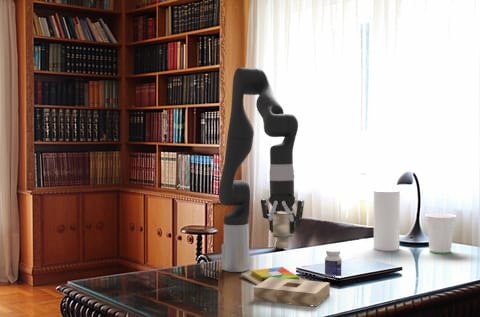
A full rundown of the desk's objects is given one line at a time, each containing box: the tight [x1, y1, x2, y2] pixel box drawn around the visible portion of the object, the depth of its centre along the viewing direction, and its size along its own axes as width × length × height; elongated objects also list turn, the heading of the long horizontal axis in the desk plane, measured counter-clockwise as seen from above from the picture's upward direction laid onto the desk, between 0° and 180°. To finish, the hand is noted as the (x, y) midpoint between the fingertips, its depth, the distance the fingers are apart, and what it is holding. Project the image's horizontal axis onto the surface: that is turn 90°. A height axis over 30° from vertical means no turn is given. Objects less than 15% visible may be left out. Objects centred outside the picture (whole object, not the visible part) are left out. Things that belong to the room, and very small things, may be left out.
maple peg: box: [272, 212, 293, 249], centre depth 201 cm, size 6×6×10 cm
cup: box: [424, 212, 457, 255], centre depth 268 cm, size 12×12×15 cm
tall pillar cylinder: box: [373, 188, 401, 252], centre depth 276 cm, size 11×11×25 cm
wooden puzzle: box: [240, 266, 310, 286], centre depth 224 cm, size 18×19×4 cm
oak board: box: [253, 277, 331, 306], centre depth 201 cm, size 20×14×4 cm
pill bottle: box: [324, 249, 342, 277], centre depth 225 cm, size 6×6×10 cm
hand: (282, 232), depth 201 cm, fingers closed on maple peg, 5 cm apart
